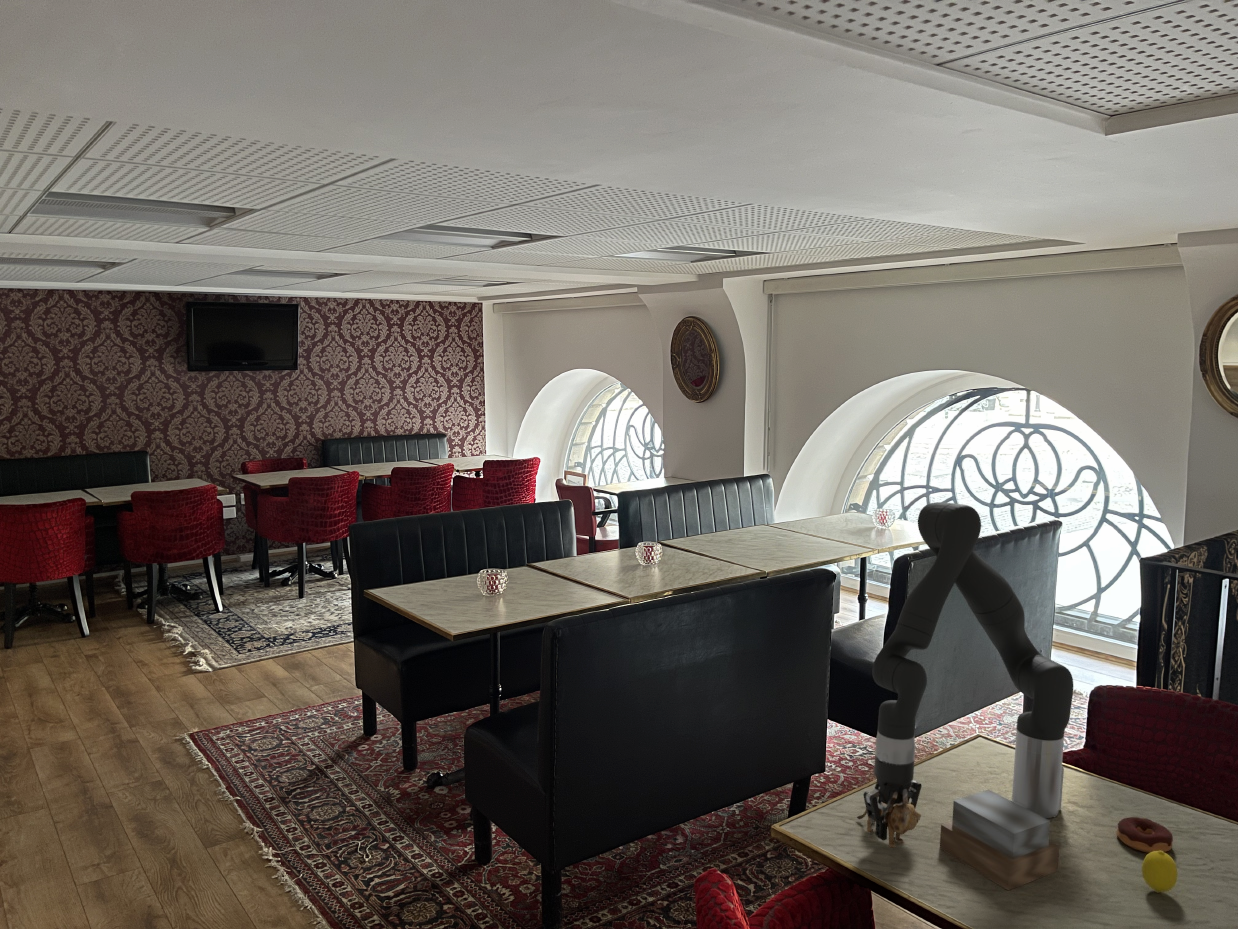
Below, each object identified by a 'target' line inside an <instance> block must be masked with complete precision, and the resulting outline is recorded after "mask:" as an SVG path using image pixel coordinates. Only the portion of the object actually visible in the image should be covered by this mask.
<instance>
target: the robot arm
mask: <svg viewBox="0 0 1238 929" xmlns="http://www.w3.org/2000/svg"><path fill="white" fill-rule="evenodd" d="M917 527H918V531H919V534H920V536H921V539H922V540H923V541H924V543H925V545H926V546H928V548H929V549H930V551H931V552H932V553H933V554H934V556H935V557H936V559H935V560H934V563H933V564H932V566H931V567H930V569H929V570H928V571H927V573H926V574H925V575H924V577H923V578H922V579H921V580H920V581H919V582H918V583H917V585H915V587H914V588H913V589H912V590H911V591H910V593H909V595H908V596H907V598H906V600H905V602H904V603H903V606H902V609H901V612H900V615H899V618H898V620H897V624H896V626H895V628H894V631H893V632H892V634H891V635H890V636H889V638H888V639H887V640H886V642H885V643H884V645H883V646H882V648H881V649H880V651H878V652H879V653H878V654H877V655H876V657H875V659H874V661H873V665H872V669H871V670H872V678H873V681H874V682H875V684H876V685H877V686H879V687H881V688H883V689H886V690H888V691H891V692H893V693H896V694H897V700H895V699H894V700H893V699H890V700H885V701H883V702H882V703H881V704H880V706H879V709H878V717H877V718H878V719H877V734H876V738H875V752H874V767H873V769H874V771H873V773H874V775H875V778H876V784H875V786H874V789H873V790H872V791H870V792H868V791H864V792H863V799H864V804H865V810H867V814H866V816H867V818H868V817H869V818H871V819H872V820H874V821H875V830H874V831H875V835H876V837H877V838H878V839H880V840H882V841H887V839H888V823H887V820H888V816H889V813H891V812H892V809H893V806H899V805H903V804H911V805H914V808H915V809H916V808H917V804H918V801H919V797H920V793H921V789H922V783H920V782H918V781H916V780H915V779H914V774H915V757H916V756H915V755H916V742H915V740H916V739H915V734H916V718H917V717H916V716H917V714H918V711H919V707H920V704H921V702H922V698H923V696H924V695H925V694H924V693H925V691H926V689H927V683H928V676H927V673H926V670H925V668H924V666H923V665H922V664H921V663H920V662H918V661H915V660H912V659H909V658H906V656H908V654H909V653H910V652H911V651H913V650H919V651H922V650H923V651H924V650H926V649H928V648H929V646H930V645H931V642H932V639H933V636H934V632H935V630H936V627H937V624H938V623H939V618H940V616H941V613H942V611H943V608H944V605H945V603H946V601H947V599H948V597H949V595H950V592H951V590H952V589H953V587H954V585H955V586H956V588H958V590H959V592H960V593H961V595H962V596H963V598H964V599H965V601H966V603H967V605H968V607H969V609H970V610H971V612H972V614H973V615H974V617H975V619H976V620H977V621H978V623H979V624H980V626H981V627H982V628H983V630H984V632H985V634H986V635H987V636H988V639H989V640H990V642H991V643H992V644H993V645H994V647H995V649H996V650H997V652H998V654H999V656H1000V658H1001V660H1002V662H1003V664H1004V666H1005V668H1006V670H1007V673H1008V675H1009V677H1010V679H1011V681H1012V683H1013V685H1014V686H1015V688H1016V689H1017V690H1018V691H1019V692H1020V693H1022V694H1023V695H1024V696H1026V697H1027V698H1030V699H1031V700H1033V701H1032V707H1031V711H1025V712H1022V713H1020V714H1019V715H1018V716H1017V720H1016V733H1015V734H1016V735H1015V747H1014V749H1015V750H1014V764H1013V778H1012V779H1013V780H1012V792H1011V793H1012V794H1011V801H1012V802H1014V803H1016V804H1018V805H1020V806H1022V807H1024V808H1026V809H1028V810H1030V811H1032V812H1034V813H1036V814H1038V815H1040V816H1042V817H1043V818H1045V819H1051V818H1052V819H1053V818H1055V817H1057V816H1058V814H1059V811H1060V810H1061V809H1062V798H1063V797H1062V796H1063V788H1064V787H1063V784H1064V772H1065V771H1064V770H1065V769H1064V766H1063V756H1064V742H1065V741H1064V740H1065V731H1066V728H1067V726H1068V725H1069V722H1070V719H1071V710H1072V704H1073V696H1074V677H1073V675H1072V673H1071V671H1070V669H1069V668H1067V667H1066V666H1065V665H1063V664H1060V663H1059V662H1056V661H1054V660H1052V659H1051V658H1048V657H1045V655H1043V654H1041V653H1040V651H1038V650H1037V648H1036V647H1035V646H1034V644H1033V643H1032V641H1031V639H1030V638H1029V637H1028V634H1027V632H1026V630H1025V622H1026V619H1025V617H1026V616H1025V612H1024V611H1025V610H1024V607H1023V605H1022V604H1021V601H1020V599H1019V597H1018V596H1017V594H1016V593H1015V591H1014V590H1013V588H1012V586H1011V585H1010V583H1009V582H1008V580H1006V579H1005V577H1003V575H1001V573H1000V572H999V571H997V570H996V569H995V568H993V567H992V566H991V565H990V564H989V563H987V562H986V561H985V560H984V559H982V557H981V556H980V555H978V554H977V553H976V552H975V550H974V548H975V546H976V545H977V542H978V540H979V538H980V535H981V532H982V531H981V530H982V520H981V517H980V515H979V513H978V511H977V510H976V509H975V508H974V507H973V506H970V505H967V504H963V503H954V502H953V503H952V502H931V503H928V504H926V505H924V506H923V507H921V510H920V511H919V513H918V517H917ZM910 799H911V801H910ZM882 802H883V803H884V804H885V805H886V806H885V805H884V804H883V803H882ZM882 810H883V815H881V811H882ZM901 835H902V836H903V834H900V836H901Z"/></svg>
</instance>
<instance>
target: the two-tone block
mask: <svg viewBox="0 0 1238 929" xmlns="http://www.w3.org/2000/svg"><path fill="white" fill-rule="evenodd" d="M952 805H953V806H952V820H950V821H948V822H945V823H941V824H940V833H939V834H940V838H939V849H940V850H942V851H943V852H945V853H946V854H948V855H950V856H951V857H953V858H954V859H956V860H957V861H959V862H961V863H963V864H964V865H965V866H968V867H969V868H971V869H973V870H974V871H976V872H977V873H978V874H981V875H982V876H984V877H985V878H987V879H989V880H991V882H994V883H995V884H997V885H998V886H1000V887H1002V888H1003V889H1004V890H1006V891H1010V890H1013V889H1015V888H1018V887H1021V886H1023V885H1025V884H1028V883H1031V882H1033V881H1034V882H1035V881H1036V880H1038V879H1041V878H1043V877H1046V876H1049V875H1052V874H1054V873H1056V872H1059V867H1060V865H1059V863H1060V854H1061V853H1060V852H1061V845H1059V844H1057V843H1056V842H1053V840H1050V830H1051V820H1049V819H1048V818H1043V817H1042V816H1040V815H1038V814H1036V813H1034V812H1032V811H1030V810H1028V809H1026V808H1024V807H1022V806H1020V805H1018V804H1016V803H1014V802H1012V800H1011V799H1008V798H1006V797H1004V796H1002V795H1001V794H999V793H996V792H995V791H992V790H990V789H985V790H983V791H979V792H975V793H972V794H969V795H967V796H964V797H960V798H957V799H954V800H953V804H952Z"/></svg>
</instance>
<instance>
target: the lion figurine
mask: <svg viewBox="0 0 1238 929" xmlns="http://www.w3.org/2000/svg"><path fill="white" fill-rule="evenodd" d="M882 803H883V802H882ZM883 804H884V803H883ZM884 805H885V806H887V805H886V804H884ZM881 815H883V810H882V811H881ZM866 816H867V810H866V809H865V811H864V812H863V814H861V815H859V816H856V818H857V819H858V820H862V819H864V818H865V817H866ZM921 818H922V815H921V813H919V812H917V810H916V808H914V805H911V803H909V804H903V805H899V806H895V805H894V806H893V809H892V812H891V813H889V816H888V820H887V823H888V827H887V833H888V846H889V847H890V848H895V847H896V844H895V841H896V842H897V843H899V844H901V843H902V844H903V842H904V839H903V838H901V835H900V834H902V835H905V834H906V833H907V832H909V831H912V830H915V828H916V827H917V825H918V824H919V821H920V820H921ZM866 823H867V827H866V830H867V833H869V834H871V833H874V829H873V828H872V826H871V825H872V824H876V822H875V821H874V820H872V819H871V818H869V817H868V816H867V820H866Z"/></svg>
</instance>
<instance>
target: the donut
mask: <svg viewBox="0 0 1238 929" xmlns="http://www.w3.org/2000/svg"><path fill="white" fill-rule="evenodd" d="M1116 835H1117V837H1118V838H1119V840H1120V841H1121V842H1123V843H1124V844H1125V845H1126V846H1128V847H1130V848H1132V849H1133V850H1135V851H1136V850H1137V851H1139V852H1143V853H1145V854H1146V853H1147V854H1149V853H1150V852H1153V851H1160V850H1161V851H1163V852H1164V853H1166V852H1169V851H1171V850H1172V848H1173V842H1174V838H1173V837H1174V836H1173V834H1172V832H1171V831H1170V830H1169V829H1167V827H1165V826H1164V825H1162V824H1160V823H1157V822H1155V821H1153V820H1152V819H1149V818H1147V817H1146V818H1144V817H1143V818H1142V817H1137V816H1130V817H1123V818H1122V819H1121V820H1119V822H1118V823H1117V829H1116Z"/></svg>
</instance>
